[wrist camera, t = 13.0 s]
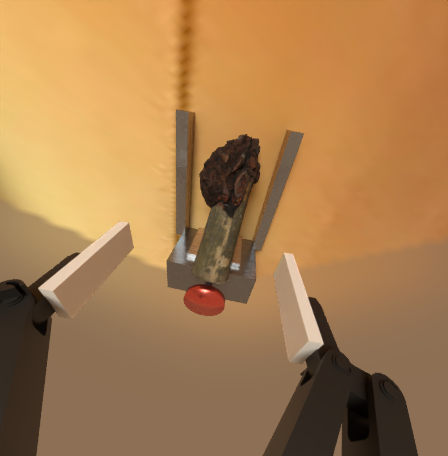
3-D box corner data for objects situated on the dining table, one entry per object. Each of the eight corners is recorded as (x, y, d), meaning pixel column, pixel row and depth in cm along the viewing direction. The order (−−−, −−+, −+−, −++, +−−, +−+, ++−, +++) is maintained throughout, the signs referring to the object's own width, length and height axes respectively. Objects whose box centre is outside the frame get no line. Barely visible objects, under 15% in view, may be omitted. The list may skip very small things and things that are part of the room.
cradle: (180, 249, 35) (151, 304, 25) (183, 110, 22) (121, 102, 11) (251, 264, 34) (252, 326, 24) (298, 132, 21) (344, 144, 11)
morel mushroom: (229, 277, 23) (222, 292, 18) (185, 262, 24) (166, 272, 19) (266, 153, 23) (272, 129, 17) (219, 143, 24) (210, 117, 18)
